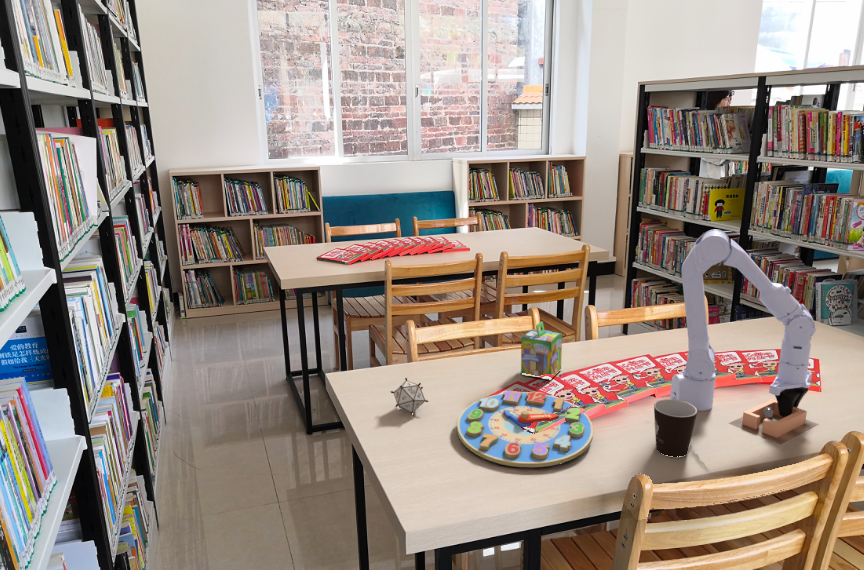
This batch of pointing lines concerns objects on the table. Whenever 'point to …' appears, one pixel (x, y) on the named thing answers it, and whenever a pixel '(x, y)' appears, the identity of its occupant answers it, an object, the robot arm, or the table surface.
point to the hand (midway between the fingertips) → (786, 415)
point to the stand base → (778, 440)
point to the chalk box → (541, 352)
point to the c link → (772, 427)
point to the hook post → (768, 413)
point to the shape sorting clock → (510, 445)
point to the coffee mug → (673, 426)
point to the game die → (409, 396)
